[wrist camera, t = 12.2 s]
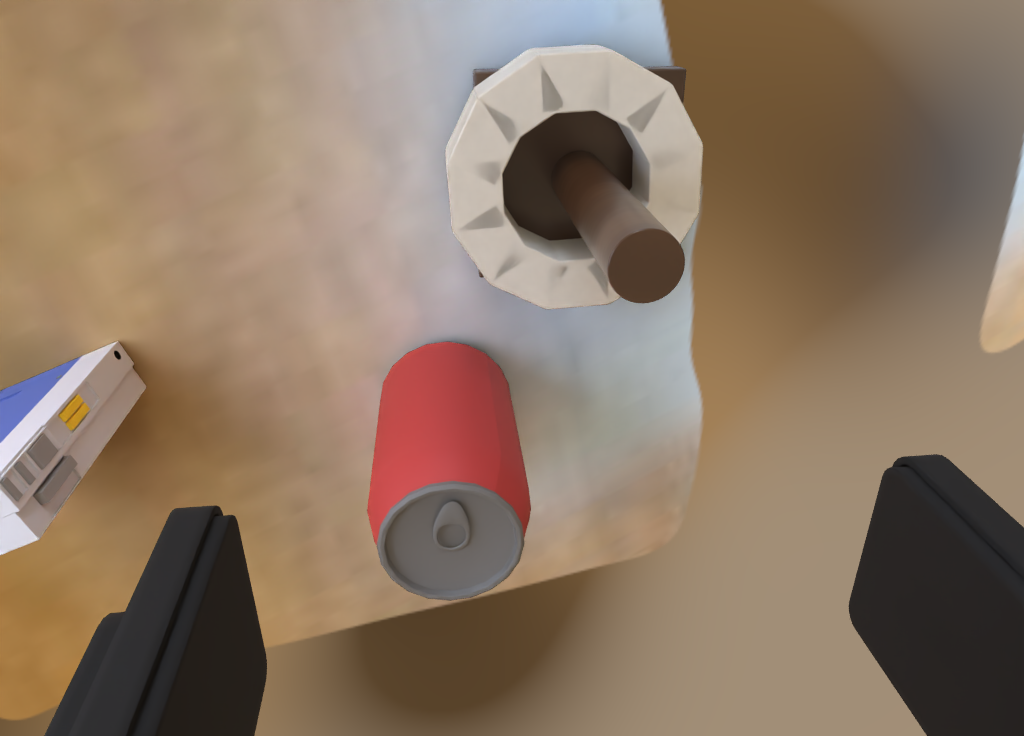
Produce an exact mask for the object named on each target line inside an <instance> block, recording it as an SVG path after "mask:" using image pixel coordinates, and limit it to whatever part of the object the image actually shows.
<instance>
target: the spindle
mask: <svg viewBox="0 0 1024 736" xmlns="http://www.w3.org/2000/svg"><path fill="white" fill-rule="evenodd" d="M643 68H645V69H647V70H649V71H650V72H652V73H654V74H656V75H657V76H659V77H661V78H663V79H664V80H666V81H668V82H670V83H671V84H672V85H673V86H674V88H675V90H676V92H677V94H678V96H679V98H680V100H681V102H682V104H683V99H684V88H685V78H686V69H684V68H681V67H678V66H656V67H643ZM498 70H499V69H475V70H473V89H474V87H475V86H477V85H478V84H480V83H481V82H482V81H484V80H485V79H487V78H488V77H490V76H491V75H492V74H494V73H495V72H497V71H498ZM632 167H633V150H632V148H631V146H630V144H629V143H628V141H627V139H626V137H625V135H624V134H623V132H622V130H621V128H620V126H619V125H618V123H617V122H616V121H614V120H612V119H610V118H608V117H606V116H605V115H603V114H601V113H599V112H597V111H585V112H570V113H556V114H554V115H552V116H551V117H549V118H548V119H547V120H545V121H544V122H542V123H541V124H539V125H538V126H536V127H535V128H533V129H532V130H530V131H529V132H528V133H526V134H525V135H523V136H522V137H520V139H519V141H518V143H517V145H516V147H515V149H514V151H513V154H512V156H511V158H510V160H509V162H508V164H507V166H506V168H505V170H504V172H503V174H502V178H503V195H504V205H505V207H506V208H507V210H508V211H509V213H510V214H511V216H512V217H513V219H514V220H515V222H516V223H517V225H518V226H520V227H522V228H524V229H526V230H528V231H530V232H532V233H534V234H536V235H539V236H541V237H543V238H545V239H547V240H549V241H552V240H565V239H578V238H583V240H584V242H585V243H586V245H587V247H588V248H589V250H590V252H591V253H592V255H593V257H594V258H595V260H596V262H597V263H598V265H599V267H600V268H601V270H602V272H603V273H604V275H605V277H606V278H607V280H608V282H609V283H610V285H611V286H612V288H613V289H614V291H615V292H616V293H617V294H618V295H619V296H620V297H622V298H624V299H625V300H628V301H630V302H634V303H649V302H654V301H656V300H659V299H661V298H663V297H664V296H666V295H667V294H669V293H670V292H671V291H672V290H673V289H674V288H675V287H676V285H677V284H678V282H679V281H680V279H681V277H682V274H683V271H684V265H685V258H684V252H683V249H682V247H681V245H680V243H679V242H678V241H677V239H676V238H675V237H674V236H673V235H672V234H671V233H670V232H669V231H668V230H667V229H666V228H665V227H664V226H663V225H662V224H661V223H660V222H659V221H658V220H657V219H656V218H655V217H654V216H653V215H652V214H651V213H650V211H649V210H648V209H647V208H646V207H645V206H644V205H643V204H642V203H641V202H640V201H639V200H638V199H637V198H636V197H635V196H634V195H633V194H632V193H631V192H630V189H631V188H632ZM478 270H479V269H478ZM479 276H480V277H484V276H483V274H482V273H481V272H480V270H479Z"/></svg>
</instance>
